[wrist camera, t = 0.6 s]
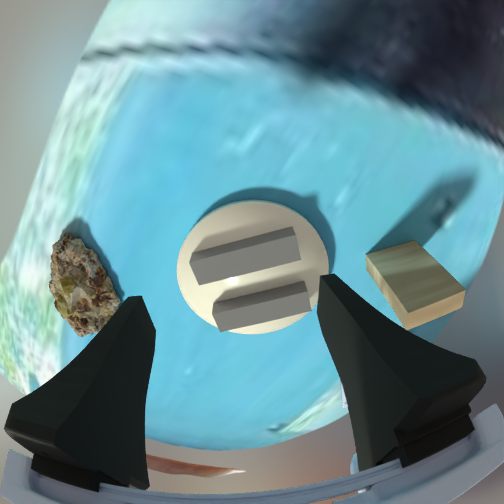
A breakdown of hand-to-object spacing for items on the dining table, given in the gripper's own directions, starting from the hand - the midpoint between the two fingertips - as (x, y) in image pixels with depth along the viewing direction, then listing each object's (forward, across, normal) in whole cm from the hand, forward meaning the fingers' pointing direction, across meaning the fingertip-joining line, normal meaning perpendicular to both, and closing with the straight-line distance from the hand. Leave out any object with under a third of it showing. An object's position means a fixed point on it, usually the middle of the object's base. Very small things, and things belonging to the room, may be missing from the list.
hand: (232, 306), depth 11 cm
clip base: (+10, -1, +6) cm, 12 cm away
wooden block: (+10, -14, +6) cm, 18 cm away
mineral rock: (+12, +15, +6) cm, 20 cm away
